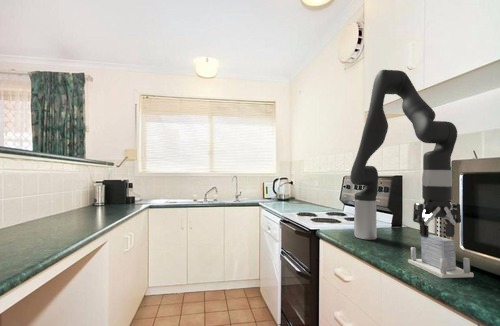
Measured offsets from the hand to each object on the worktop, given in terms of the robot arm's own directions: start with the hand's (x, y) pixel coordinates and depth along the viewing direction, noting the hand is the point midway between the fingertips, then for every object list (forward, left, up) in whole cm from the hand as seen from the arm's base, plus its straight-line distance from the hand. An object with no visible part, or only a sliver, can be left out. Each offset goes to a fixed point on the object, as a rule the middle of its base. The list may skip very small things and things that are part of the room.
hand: (437, 236), depth 80 cm
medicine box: (0, 0, -9) cm, 9 cm away
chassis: (0, 0, -10) cm, 10 cm away
